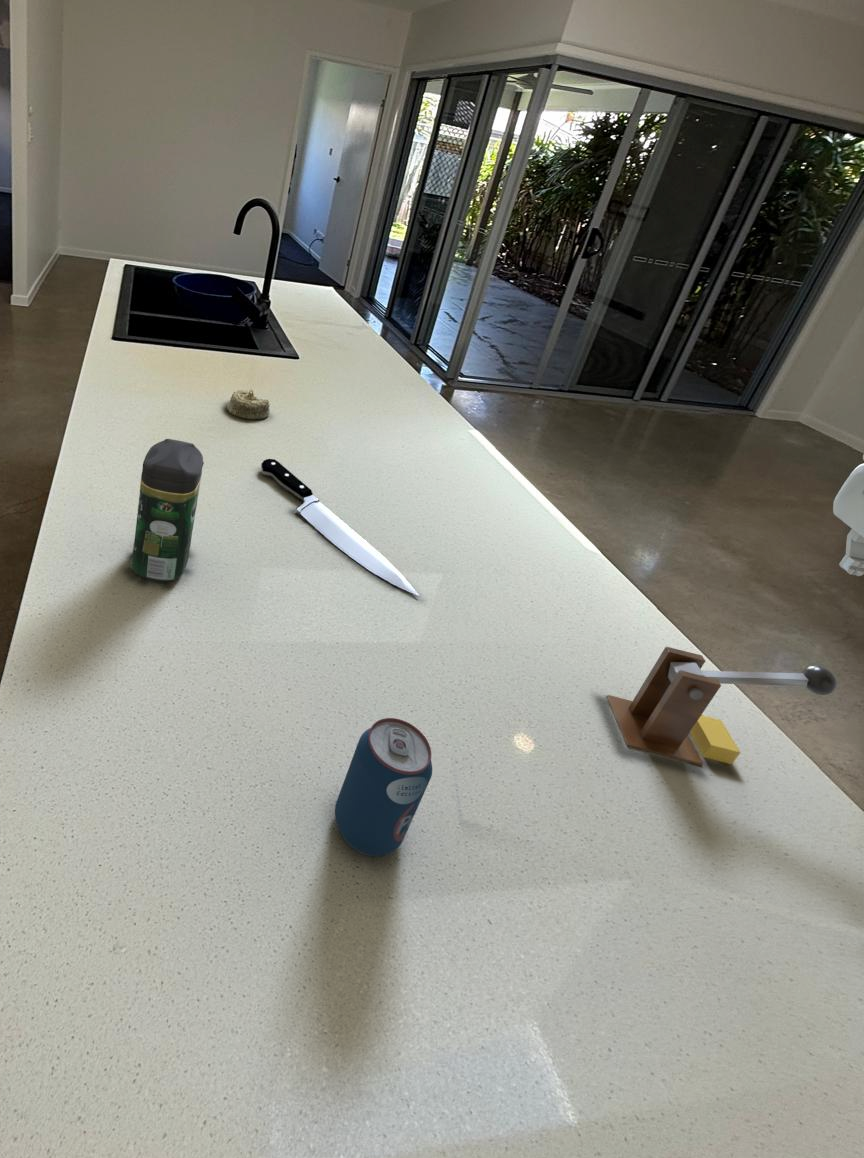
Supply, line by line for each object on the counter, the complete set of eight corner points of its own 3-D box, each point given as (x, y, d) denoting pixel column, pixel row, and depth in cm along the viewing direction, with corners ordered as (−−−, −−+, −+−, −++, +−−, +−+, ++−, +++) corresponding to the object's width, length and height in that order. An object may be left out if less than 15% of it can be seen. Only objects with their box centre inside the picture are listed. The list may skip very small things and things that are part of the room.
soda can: (401, 873, 61) (441, 788, 55) (328, 851, 61) (360, 765, 56) (400, 805, 67) (435, 723, 62) (334, 786, 67) (363, 703, 62)
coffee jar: (139, 539, 99) (153, 429, 91) (191, 549, 99) (209, 440, 91) (123, 578, 90) (137, 461, 82) (180, 589, 90) (199, 473, 82)
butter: (709, 736, 84) (721, 719, 83) (728, 769, 80) (740, 752, 79) (682, 729, 85) (693, 712, 83) (699, 761, 80) (711, 745, 79)
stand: (671, 718, 86) (715, 651, 81) (698, 770, 79) (748, 700, 74) (603, 700, 86) (642, 633, 81) (623, 751, 79) (668, 680, 74)
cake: (253, 426, 144) (256, 404, 142) (217, 410, 149) (220, 389, 146) (278, 412, 152) (281, 391, 149) (243, 397, 156) (245, 377, 153)
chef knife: (402, 608, 97) (405, 596, 96) (248, 473, 124) (249, 462, 123) (426, 596, 100) (430, 584, 99) (271, 466, 127) (272, 456, 126)
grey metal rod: (823, 681, 77) (829, 659, 76) (840, 701, 75) (847, 680, 73) (665, 676, 81) (669, 656, 79) (676, 696, 78) (680, 675, 76)
